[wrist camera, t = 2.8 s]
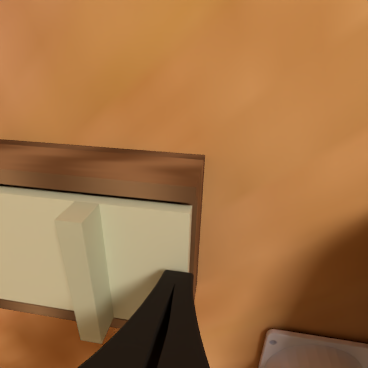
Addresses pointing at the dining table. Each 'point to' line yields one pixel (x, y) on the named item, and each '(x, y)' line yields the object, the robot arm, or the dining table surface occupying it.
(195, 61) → the dining table surface
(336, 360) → the robot arm
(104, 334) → the cover plate
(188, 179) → the walnut box
